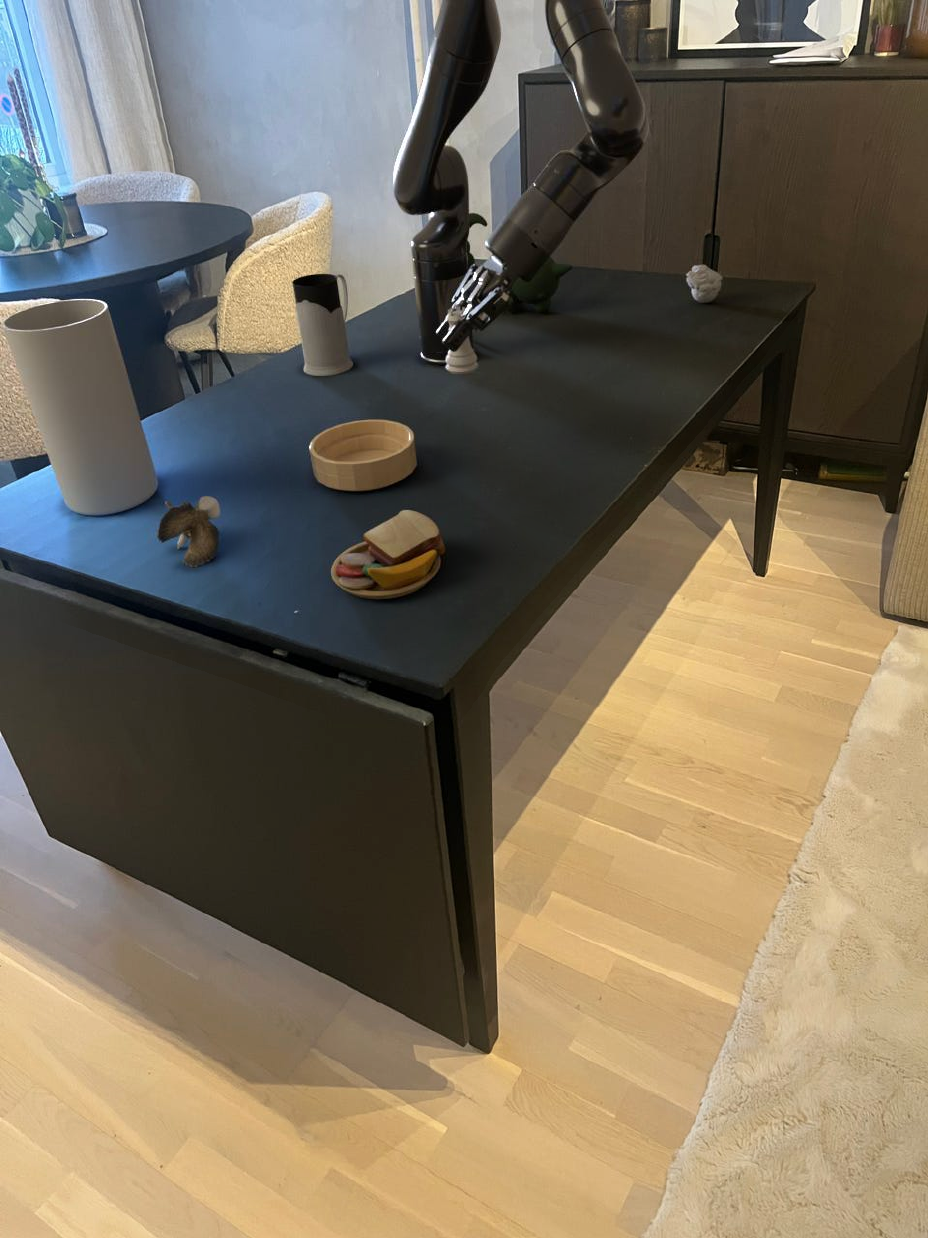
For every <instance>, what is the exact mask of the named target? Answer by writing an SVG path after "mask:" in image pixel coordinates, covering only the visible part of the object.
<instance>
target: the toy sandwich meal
mask: <svg viewBox="0 0 928 1238" xmlns="http://www.w3.org/2000/svg"><path fill="white" fill-rule="evenodd" d="M363 538H364V541H362V542H360V543H357V544H355V545H353V546H351V547H349V548H347V549H346V550H344V551H343V552H341V553H340V554H339V555H338V556H337V558H336V559H335V560H334V562H333V563H332V566H331V569H330V575H331V578H332V580H333V582H334V583H335V584H336V585H337V586H338V587H339V588H340V589H342V590H343V591H345V592H348V593H349V594H351V595H353V596H356V597H359V598H363V599H369V600H390V599H396V598H400V597H403V596H406V595H409V594H412V593H414V592H416V591H418V590H420V589H421V588H423V587H424V586H425V585H426V584H428V583H429V581H431V580H432V579H433V578H434V577H435V575H436V574H437V573H438V571H439V569H440V567H441V556H440V555H443V554H444V553H445V552H446V547H445V543H444V540H443V538H442V537H441V531H440V528H439V527H438V525H437V524H436V523H435V522H434V521H433V520H432V519H431V518H430V517H429V516H427V515H425V514H423V513H421V512H418V511H415V510H411V509H403V510H401V511H399V512H398V513H397V515H395V516H393V517H391V518H390V519H388V520H386V521H384V522H382V523H380V524H379V525H377V526H375V527H373V528H371V529H370V530H368V531H366V532H365V533H364V534H363Z"/></svg>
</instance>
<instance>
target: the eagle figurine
mask: <svg viewBox="0 0 928 1238" xmlns="http://www.w3.org/2000/svg"><path fill="white" fill-rule="evenodd" d="M199 498H200V499H199V501H198V502H197V503H196V505H195V506H193V504H192V503H191V502H189V501H187V502H186V501H181V505H179V506H175V505H173V504H172V503H171V502H170V501H167V500H165V501H164V503H165V505H166V506H167V507H168V508H169V509H168V510H167V511H166V513H164V515H163V516H162V518H161V519H160V521H159V524H158V529H157V535H156V538H157V539H158V541H159V542H161V544H163V543H166V542H167V541H170V540H171V539H175V538H177V537H179V538H178V540H177V547H176V549H177V550H180V549H181V548H182V547H184V546H185V545H186V543H187V542H188V540H189V544H188V547H187V550H186V552H185V555H184V557H183V559H182V564H185V567H186V566H188V567H190V568H198V567H199V566H203V565H205V564H206V562H210V561H211V560H212V559H214V558H215V557H216V555H217V554H218V553H219V552H218V550H219V544H220V542H219V538H220V531H219V528H218V527H217V526H216V525H214V523H212V522H211V521H210V520H217V519H219V517H220V516H221V508H220V507H221V506H220V504H219V501H218V500H217V499H216V498H214V497H213V496H207V495H205V496H201V497H199Z"/></svg>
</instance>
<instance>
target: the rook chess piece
mask: <svg viewBox="0 0 928 1238" xmlns="http://www.w3.org/2000/svg"><path fill="white" fill-rule="evenodd" d="M465 309H466V308H465V307H463V308H462V310H461V308H460V307H457V311H454V308H450V310H448V315H447V316H446V318H445V319H446V320H447V321H448V322H449V324H450V327H449V329H448V330H449V331H450V330H451V328H452V327H453V326H454V324H455V323H456V322H457V321H458V319H459V320H460V317H461V315H462V314H463V312H464V311H465ZM477 356H478V355H477V354H476V353H475V351H474V352H473V349H472V347H471V344H470V340H469V336H468V337H467V338H466V340H465V341H464V342H463V343H462V345H461V346H460V347H459V349H458V350H457V351H456V352H452V351H451V350H450V349H449V351H448V355H447V357H446V360H445V361H446V363H447V364H445V369H446V370H447V371H448V373H449V374H452V375H467V374H470V373H471V374H472V373H473V372H475V371H476V370H477V369H478V367H479V363H478V362H477V361H478V357H477Z"/></svg>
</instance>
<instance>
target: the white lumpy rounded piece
mask: <svg viewBox="0 0 928 1238" xmlns="http://www.w3.org/2000/svg"><path fill="white" fill-rule="evenodd" d="M685 275H686V282H687V285H688V287H689V288H690V289H691V295H692V297H693V299H694V300H695V301H696V302H697V303H700V304H708V303H710V302H712V301H713V300H715V299H716V298H717V296H718V294H719V292H720V290H721V289H722V285H723V284H722V283H723V282H722V280H723V276H722V275H721V274H720V273H719V272H717V271H714V270H713V269H711V268H710V267H708V266H707V265H706V264H697V265H693V266H692V268H691V270H689V271H688V272H687V273H686V274H685Z"/></svg>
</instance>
